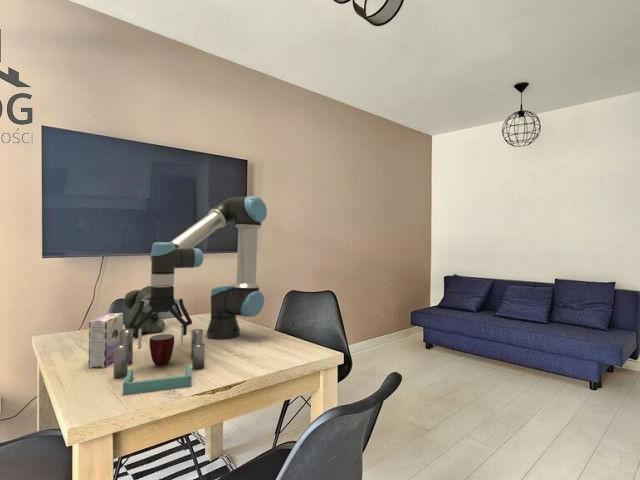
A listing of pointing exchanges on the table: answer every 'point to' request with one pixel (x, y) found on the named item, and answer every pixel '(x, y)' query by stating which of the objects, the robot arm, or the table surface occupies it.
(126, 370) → the spacer front right
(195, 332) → the cylinder
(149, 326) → the stuffed elephant
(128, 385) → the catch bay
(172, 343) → the mug
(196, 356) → the cylinder
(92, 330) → the candy box
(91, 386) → the table surface
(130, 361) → the spacer back right
